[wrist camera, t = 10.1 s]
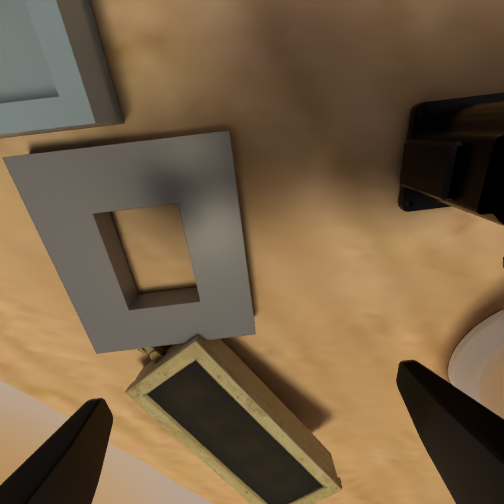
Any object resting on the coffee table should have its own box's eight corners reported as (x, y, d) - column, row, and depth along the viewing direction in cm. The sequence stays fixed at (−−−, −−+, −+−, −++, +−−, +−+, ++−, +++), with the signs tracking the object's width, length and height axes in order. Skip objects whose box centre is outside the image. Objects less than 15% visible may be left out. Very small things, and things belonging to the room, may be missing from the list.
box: (273, 469, 29) (275, 528, 25) (118, 330, 25) (83, 367, 20) (336, 434, 28) (350, 490, 23) (179, 277, 23) (157, 305, 18)
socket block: (229, 130, 16) (228, 130, 14) (254, 317, 22) (255, 334, 20) (28, 154, 16) (2, 157, 14) (107, 334, 22) (96, 353, 20)
